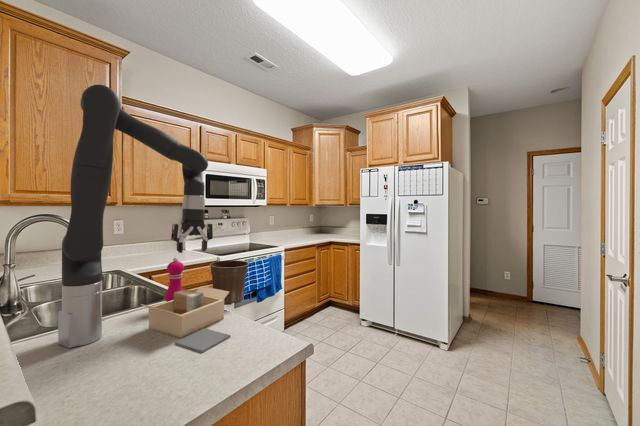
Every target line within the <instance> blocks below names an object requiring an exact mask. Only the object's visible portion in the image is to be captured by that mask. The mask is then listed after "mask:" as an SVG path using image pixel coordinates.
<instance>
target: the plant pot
mask: <svg viewBox="0 0 640 426" xmlns="http://www.w3.org/2000/svg"><path fill="white" fill-rule="evenodd" d="M208 265H209V266H210V274H211V279H212V288H213V289H219V290H224V291H229V293H228V295H227V296H226V297H225V299H224V306H232V304H234V305H235V304H236V305H237V304H239V303H242V302H243V300H244V295H245V294H244V293H245V286H246V278H247V273H248V268H249V265H250V263H249V262H248V261H246V260H245V261H243V260H236V259H235V260H234V259H232V260H231V259H229V260H227V259H226V260H217V261H212V262H211V263H209V264H208Z"/></svg>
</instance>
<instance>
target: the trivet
mask: <svg viewBox="0 0 640 426" xmlns="http://www.w3.org/2000/svg"><path fill="white" fill-rule="evenodd" d="M230 338H231V334H227V333H223V332H221V331H217V330H213V329H209V328H206V327H205V328H203V329H200V330H198V331H196V332H194V333H192V334H190V335H188V336H185V337H183V338H181V339H178V340H176V341H175V342H174V345H177V346H180V347H182V348H185V349H189V350H193V351H195V352H198V353H201V354H203V353H205V352H207V351H209V350H210V349H212V348H214V347H215V346H218V345H220V344H221V343H223V342H225V341H226V340H228V339H230Z"/></svg>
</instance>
